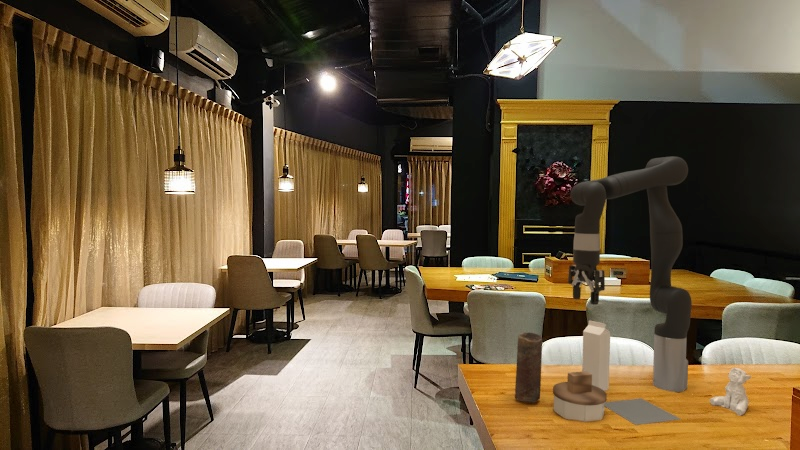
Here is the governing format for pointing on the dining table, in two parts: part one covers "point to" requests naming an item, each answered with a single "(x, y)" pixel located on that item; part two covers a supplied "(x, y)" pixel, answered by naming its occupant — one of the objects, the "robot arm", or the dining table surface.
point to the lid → (579, 390)
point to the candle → (528, 367)
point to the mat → (639, 411)
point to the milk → (597, 353)
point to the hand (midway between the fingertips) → (585, 301)
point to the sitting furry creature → (734, 393)
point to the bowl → (578, 410)
